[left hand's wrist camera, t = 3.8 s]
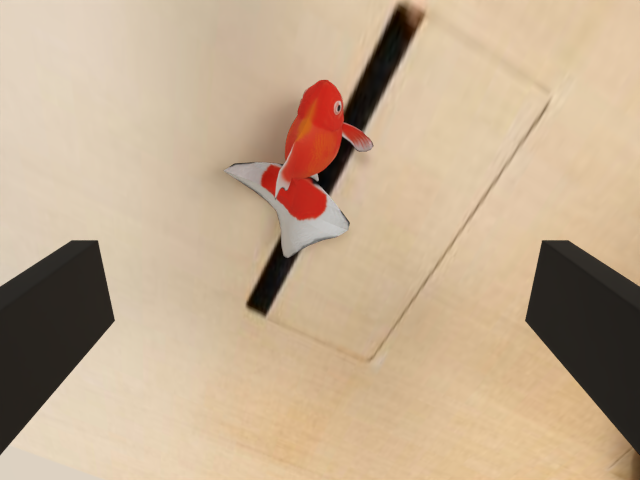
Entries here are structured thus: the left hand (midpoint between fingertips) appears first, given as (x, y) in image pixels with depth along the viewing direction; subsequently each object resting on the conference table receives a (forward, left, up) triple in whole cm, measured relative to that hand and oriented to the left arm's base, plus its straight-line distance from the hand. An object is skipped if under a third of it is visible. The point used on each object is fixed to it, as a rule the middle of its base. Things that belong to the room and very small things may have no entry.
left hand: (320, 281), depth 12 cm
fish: (+1, -2, -27) cm, 27 cm away
